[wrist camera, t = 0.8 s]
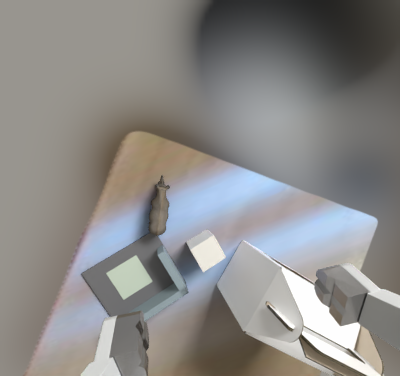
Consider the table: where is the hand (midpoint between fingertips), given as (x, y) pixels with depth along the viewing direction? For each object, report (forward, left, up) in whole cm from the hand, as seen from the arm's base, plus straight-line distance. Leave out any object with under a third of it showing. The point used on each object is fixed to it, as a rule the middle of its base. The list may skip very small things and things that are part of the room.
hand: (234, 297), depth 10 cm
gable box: (-31, -11, -43) cm, 54 cm away
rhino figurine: (0, +2, -43) cm, 43 cm away
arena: (-12, +15, -43) cm, 47 cm away
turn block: (-14, -2, -43) cm, 45 cm away
